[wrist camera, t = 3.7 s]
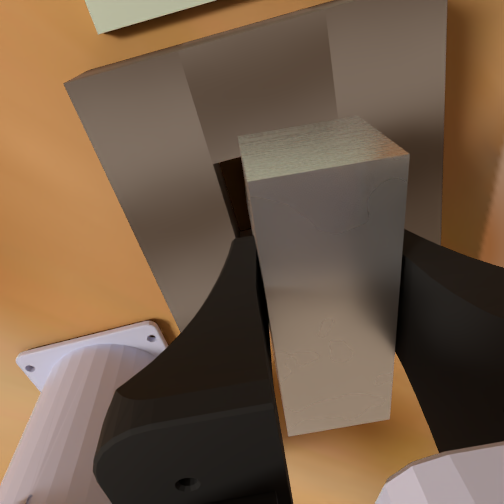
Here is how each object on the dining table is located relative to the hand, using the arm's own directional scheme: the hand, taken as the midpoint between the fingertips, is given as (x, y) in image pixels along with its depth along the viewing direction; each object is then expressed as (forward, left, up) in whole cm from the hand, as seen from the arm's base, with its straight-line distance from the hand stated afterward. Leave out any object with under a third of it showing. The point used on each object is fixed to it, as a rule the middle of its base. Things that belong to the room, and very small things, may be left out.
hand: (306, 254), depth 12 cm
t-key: (0, 0, -5) cm, 5 cm away
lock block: (0, 0, -7) cm, 7 cm away
